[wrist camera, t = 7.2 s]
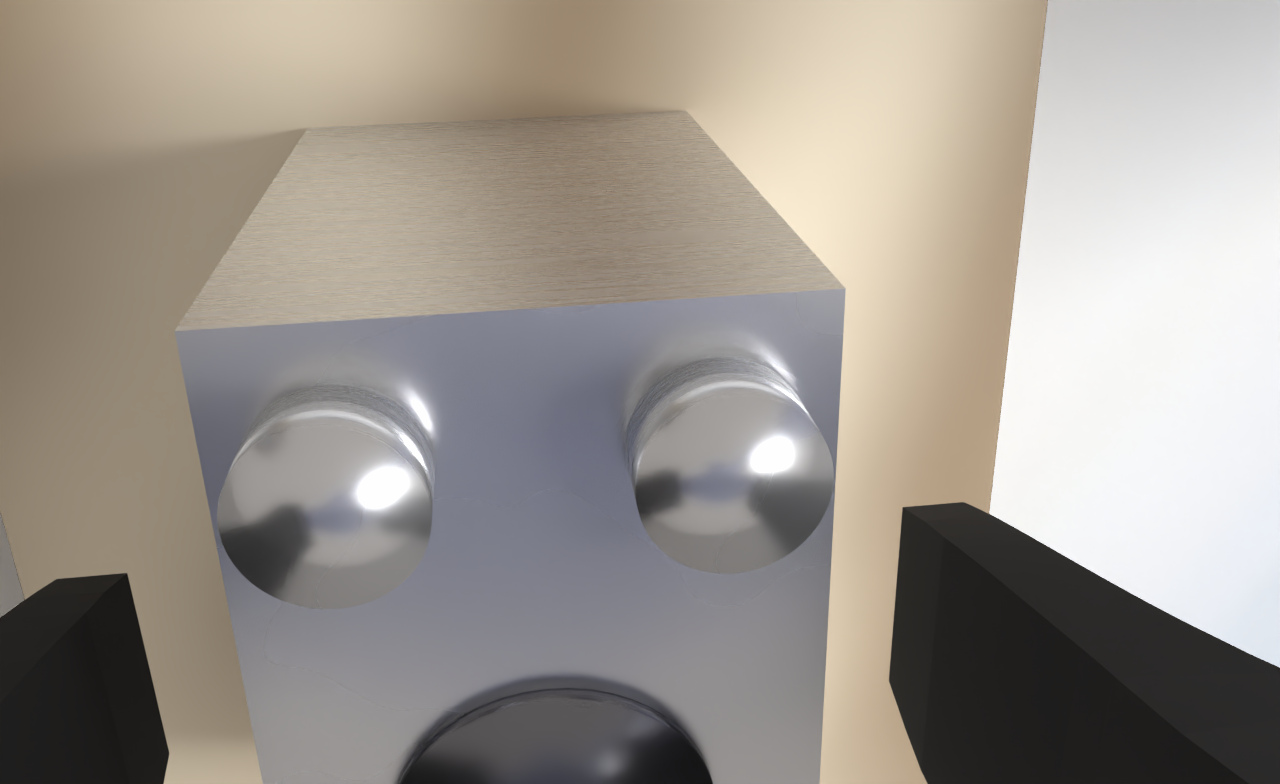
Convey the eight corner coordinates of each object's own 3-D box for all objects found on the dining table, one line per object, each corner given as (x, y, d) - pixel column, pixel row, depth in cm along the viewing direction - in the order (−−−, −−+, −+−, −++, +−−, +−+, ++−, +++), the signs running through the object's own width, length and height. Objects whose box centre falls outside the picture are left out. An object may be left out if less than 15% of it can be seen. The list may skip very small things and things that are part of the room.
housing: (686, 110, 13) (875, 321, 7) (688, 706, 16) (818, 1207, 10) (307, 127, 12) (148, 371, 6) (390, 736, 15) (337, 1279, 10)
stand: (966, -273, 14) (1083, -306, 12) (883, 761, 21) (945, 896, 18) (-79, -261, 13) (-225, -297, 10) (182, 838, 19) (135, 994, 17)
